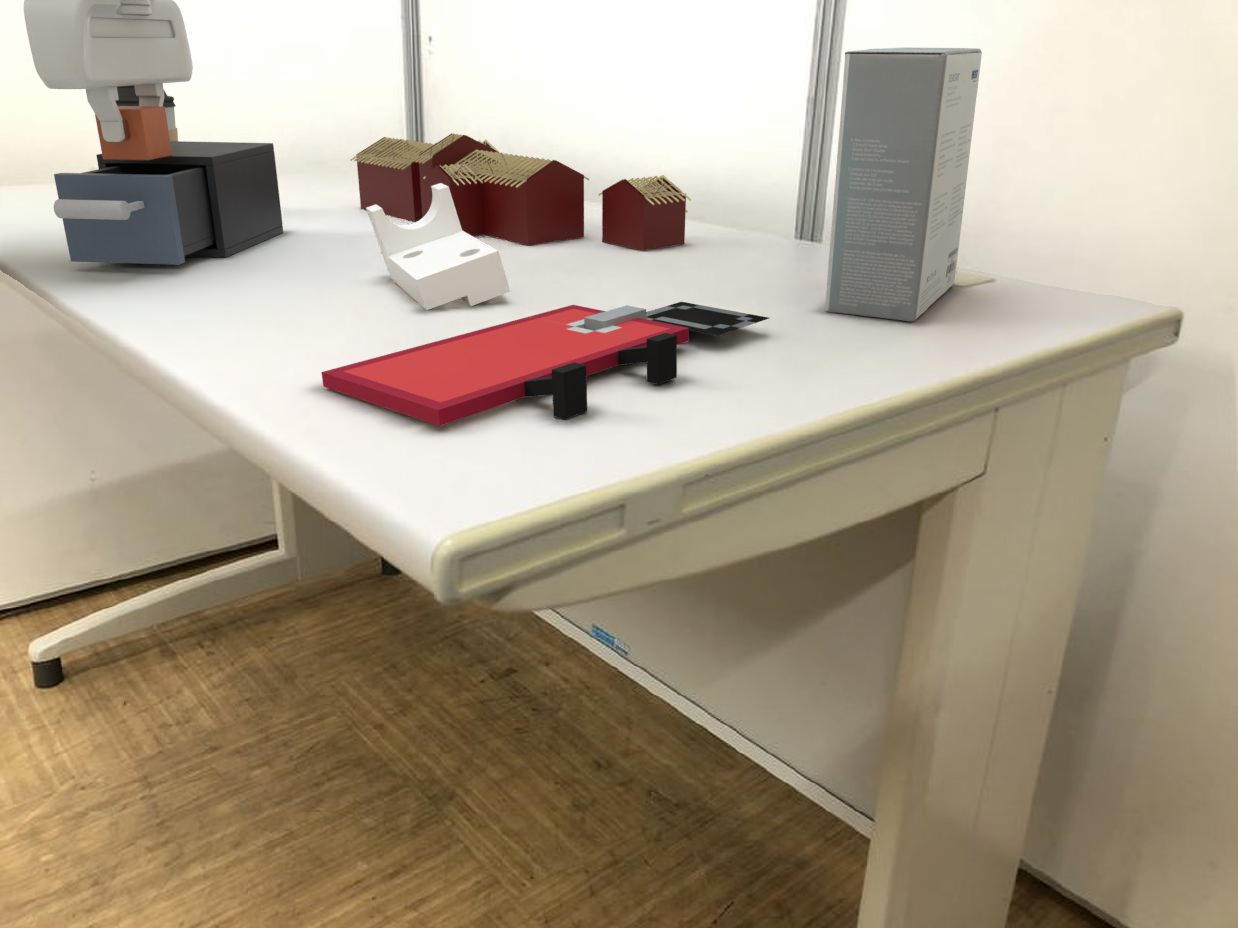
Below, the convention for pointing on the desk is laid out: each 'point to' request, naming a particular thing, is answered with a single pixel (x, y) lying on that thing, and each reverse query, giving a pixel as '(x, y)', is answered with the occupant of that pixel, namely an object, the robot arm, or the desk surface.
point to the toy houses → (515, 194)
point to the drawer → (136, 213)
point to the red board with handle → (530, 360)
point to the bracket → (439, 256)
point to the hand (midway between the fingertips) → (134, 138)
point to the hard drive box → (900, 178)
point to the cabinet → (231, 190)
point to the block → (139, 135)
